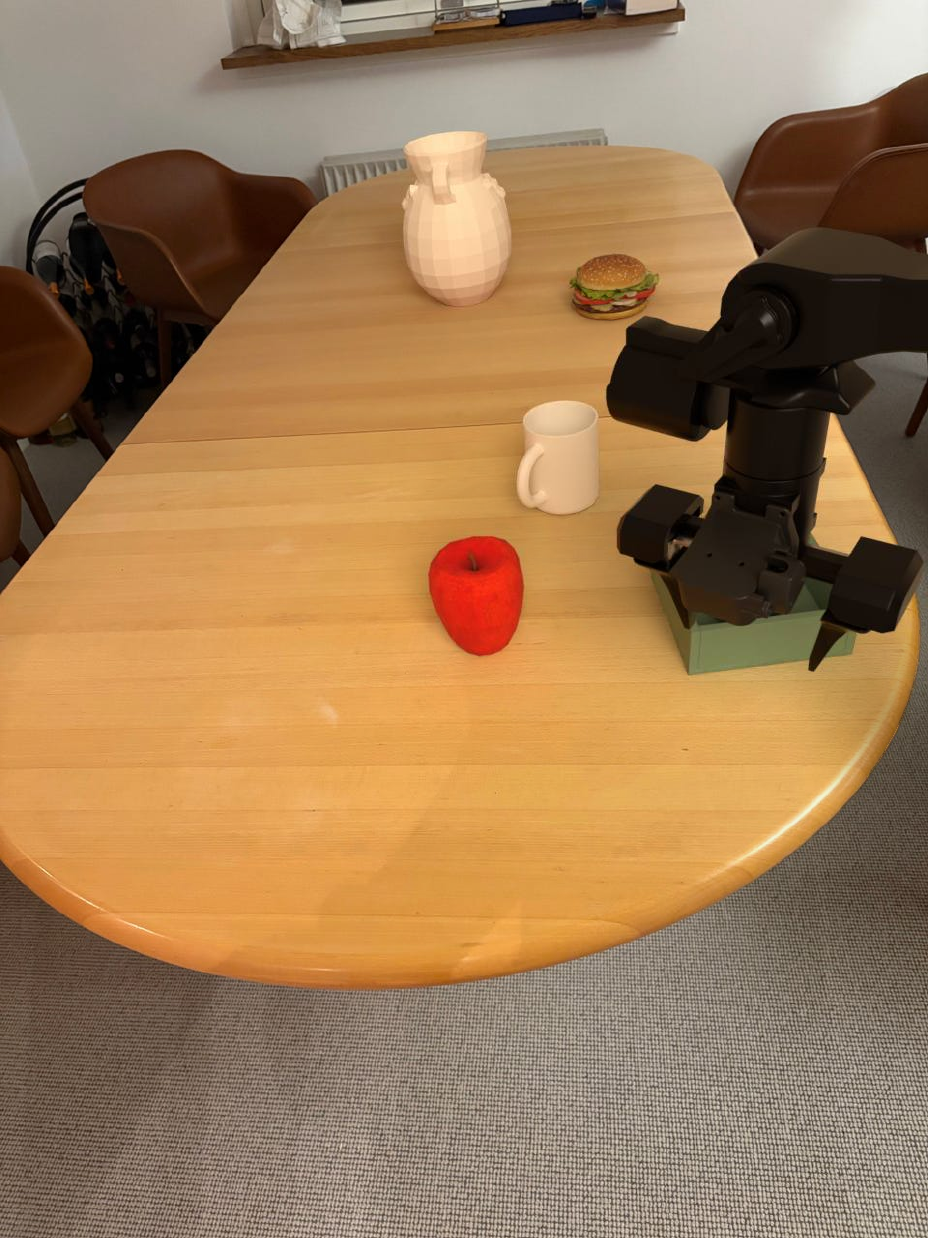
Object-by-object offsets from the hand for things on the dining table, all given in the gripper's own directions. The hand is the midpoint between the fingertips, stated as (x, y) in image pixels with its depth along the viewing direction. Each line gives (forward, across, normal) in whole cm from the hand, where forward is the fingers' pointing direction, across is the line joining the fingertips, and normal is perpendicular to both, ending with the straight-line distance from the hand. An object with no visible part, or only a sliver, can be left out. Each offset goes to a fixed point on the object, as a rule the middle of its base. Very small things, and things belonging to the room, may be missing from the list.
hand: (749, 646), depth 64 cm
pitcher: (+12, -82, +75) cm, 112 cm away
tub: (+12, -6, +17) cm, 22 cm away
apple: (+12, -26, +2) cm, 29 cm away
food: (+12, -55, +79) cm, 97 cm away
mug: (+12, -33, +25) cm, 43 cm away
